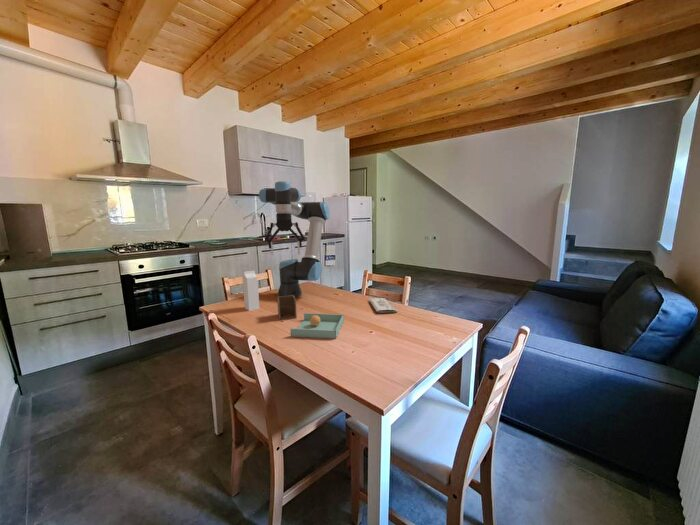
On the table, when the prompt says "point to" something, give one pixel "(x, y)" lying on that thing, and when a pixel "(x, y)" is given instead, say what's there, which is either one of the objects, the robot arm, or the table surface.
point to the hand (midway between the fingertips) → (285, 254)
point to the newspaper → (382, 305)
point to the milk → (250, 290)
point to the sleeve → (286, 306)
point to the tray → (319, 326)
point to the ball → (315, 320)
